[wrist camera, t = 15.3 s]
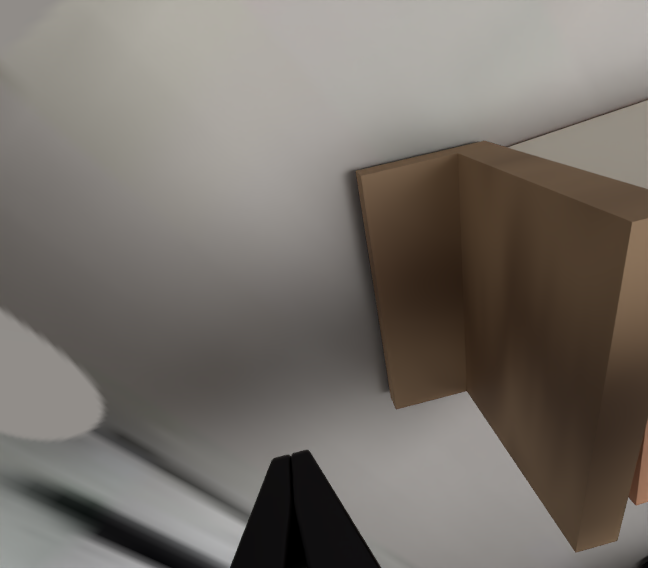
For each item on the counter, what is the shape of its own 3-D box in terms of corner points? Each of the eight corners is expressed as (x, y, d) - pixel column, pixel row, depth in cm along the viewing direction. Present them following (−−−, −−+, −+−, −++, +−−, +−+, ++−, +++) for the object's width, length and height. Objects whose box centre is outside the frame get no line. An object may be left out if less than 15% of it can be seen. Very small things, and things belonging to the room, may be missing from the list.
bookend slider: (486, 372, 15) (617, 541, 9) (390, 397, 15) (469, 582, 9) (484, 141, 11) (701, 205, 6) (355, 170, 11) (455, 265, 5)
